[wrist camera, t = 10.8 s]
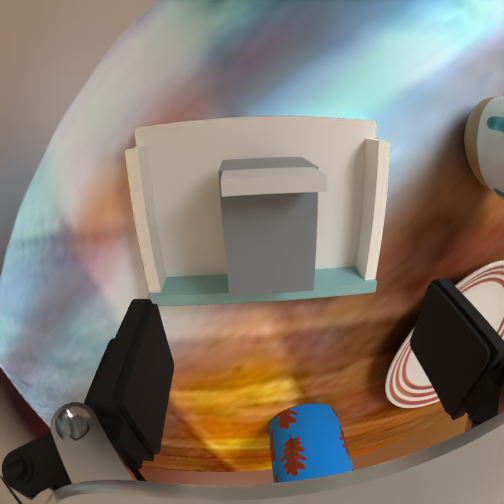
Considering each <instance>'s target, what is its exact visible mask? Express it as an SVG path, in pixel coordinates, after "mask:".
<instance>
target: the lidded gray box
mask: <svg viewBox="0 0 504 504" xmlns="http://www.w3.org/2000/svg"><path fill="white" fill-rule="evenodd" d="M218 174H219V187H220V199H221V211H222V223H223V234H224V245H225V256H226V266H227V277H228V287H229V296H230V297H231V296H247V295H262V294H276V293H289V292H301V291H312V290H314V278H315V262H316V242H317V217H318V192H327V175H325V174H324V173H322V172H321V171H319V170H318V166H316V165H314V164H313V163H311V162H309V161H308V160H306V159H304V158H303V157H273V158H250V159H233V160H222V162H221V165H220V168H219V171H218Z"/></svg>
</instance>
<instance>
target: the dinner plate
mask: <svg viewBox="0 0 504 504" xmlns="http://www.w3.org/2000/svg"><path fill="white" fill-rule="evenodd" d="M455 286H456V287H457V288H458V289H459V290H460V292H461V293H462V294H463V295H464V296H465V297H466V298H467V299H468V300H469V301H470V302H471V303H472V304H473V305H474V307H475V308H476V309H477V310H478V311H479V312H480V313H481V314H482V315H483V317H484V318H485V319H486V320H487V321H488V322H489V324H490V325H491V326H492V327H493V328H494V329H495V331H496V332H497V333H498V334H499V335H500V337H501V338H502V339H503V340H504V261H498V262H494V263H491V264H488V265H486V266H484V267H482V268H480V269H478V270H476V271H475V272H473V273H471V274H470V275H468V276H467V277H465V278H464V279H463V280H461V281H460V282H459V283H457V284H456V285H455ZM414 328H415V327H414ZM414 328H413V329H412V331H411V332H410V333H409V335H408V336H407V338H406V339H405V341H404V342H403V344H402V345H401V347H400V348H399V350H398V352H397V354H396V355H395V357H394V359H393V361H392V363H391V366H390V368H389V371H388V374H387V378H386V384H385V391H386V395H387V397H388V399H389V400H390V402H392V403H393V404H394V405H396V406H399V407H404V408H415V407H421V406H425V405H429V404H432V403H435V402H437V401H440V400H439V398H438V396H437V394H436V392H435V390H434V388H433V387H432V385H431V383H430V381H429V379H428V378H427V376H426V374H425V372H424V370H423V369H422V367H421V365H420V363H419V362H418V360H417V358H416V356H415V355H414V353H413V351H412V350H411V348H410V338H411V336H412V333H413V330H414Z"/></svg>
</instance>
